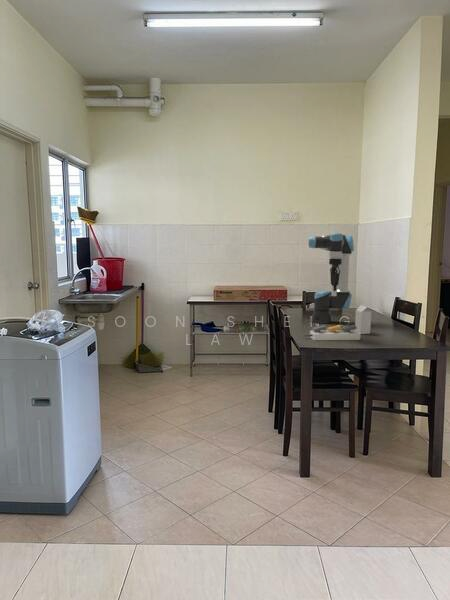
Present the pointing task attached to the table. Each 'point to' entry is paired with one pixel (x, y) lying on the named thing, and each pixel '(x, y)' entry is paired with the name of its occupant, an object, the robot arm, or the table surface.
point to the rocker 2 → (349, 328)
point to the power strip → (335, 335)
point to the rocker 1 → (319, 328)
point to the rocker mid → (334, 328)
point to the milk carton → (363, 320)
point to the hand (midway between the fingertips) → (334, 295)
